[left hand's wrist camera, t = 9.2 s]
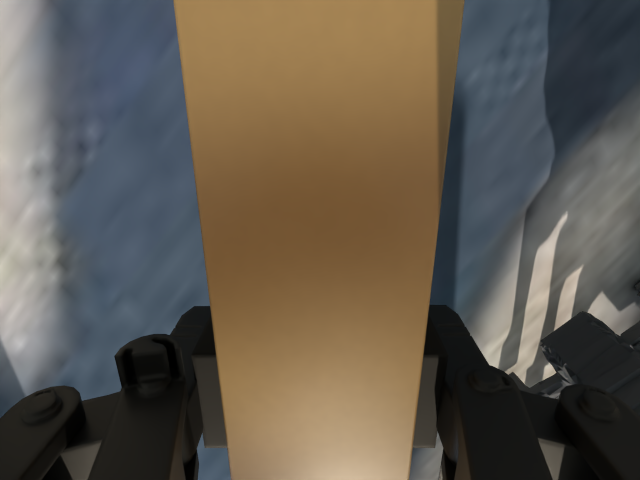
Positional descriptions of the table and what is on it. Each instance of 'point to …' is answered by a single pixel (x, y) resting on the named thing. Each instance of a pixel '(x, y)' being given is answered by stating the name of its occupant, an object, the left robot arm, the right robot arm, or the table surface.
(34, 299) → the table surface
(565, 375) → the toy
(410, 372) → the post
